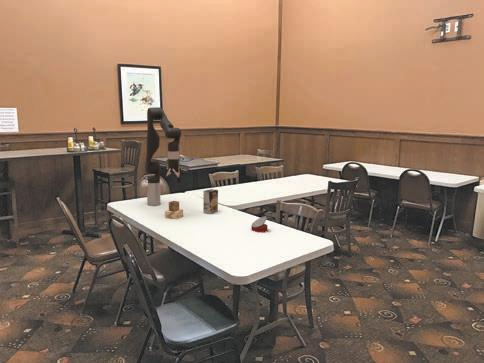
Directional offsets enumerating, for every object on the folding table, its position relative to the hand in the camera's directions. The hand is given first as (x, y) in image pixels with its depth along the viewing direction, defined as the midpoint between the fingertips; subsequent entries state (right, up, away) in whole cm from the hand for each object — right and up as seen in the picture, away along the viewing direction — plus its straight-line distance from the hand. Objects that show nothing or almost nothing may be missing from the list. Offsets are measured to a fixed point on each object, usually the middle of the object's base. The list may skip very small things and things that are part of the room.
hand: (173, 182), depth 274 cm
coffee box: (+24, -22, +17) cm, 37 cm away
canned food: (+57, -30, -24) cm, 68 cm away
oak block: (0, -24, +3) cm, 24 cm away
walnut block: (0, -19, +2) cm, 19 cm away
